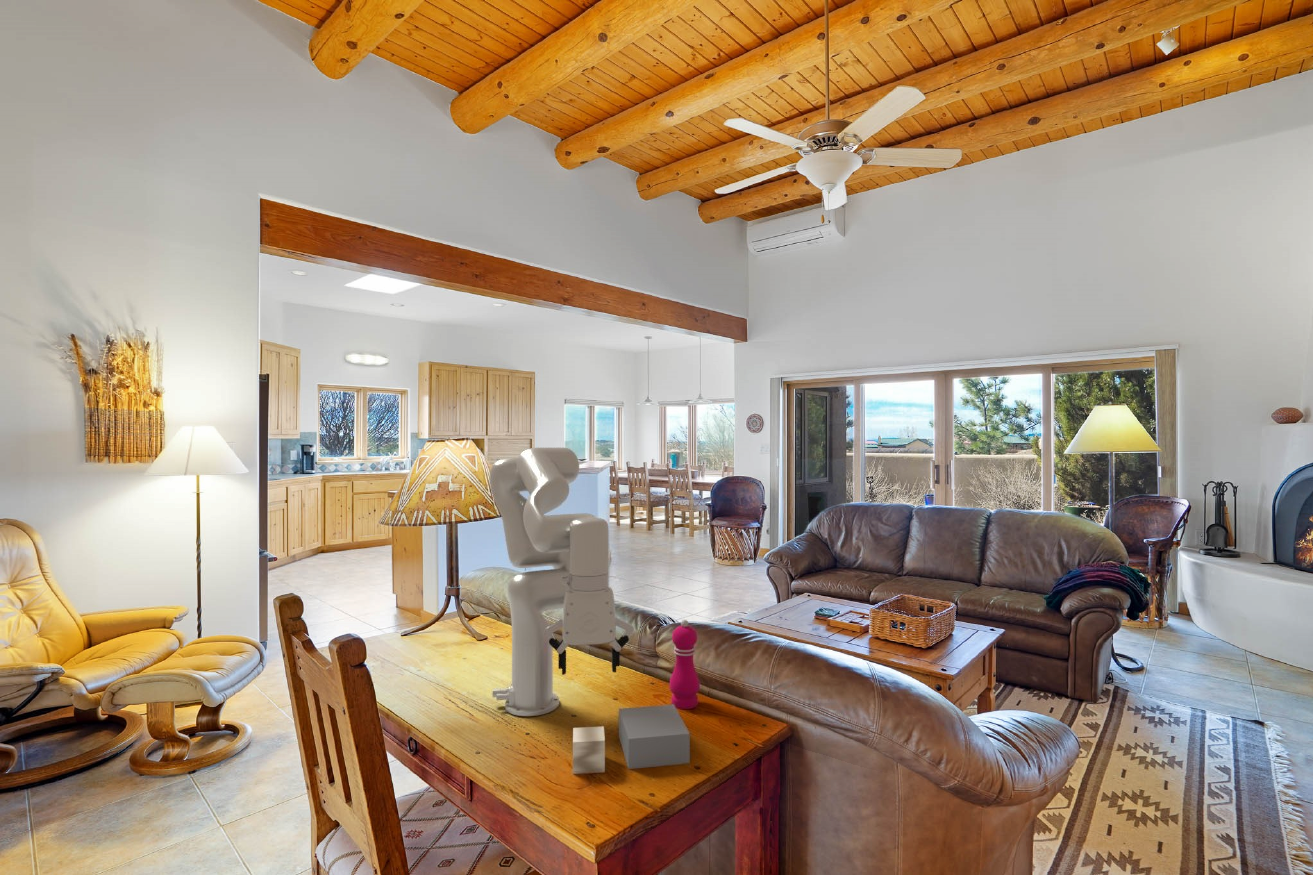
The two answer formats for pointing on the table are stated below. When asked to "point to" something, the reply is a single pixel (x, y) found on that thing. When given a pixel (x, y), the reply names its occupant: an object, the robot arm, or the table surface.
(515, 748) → the table surface
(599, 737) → the cream block
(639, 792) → the table surface
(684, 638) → the pepper mill
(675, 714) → the slate block
